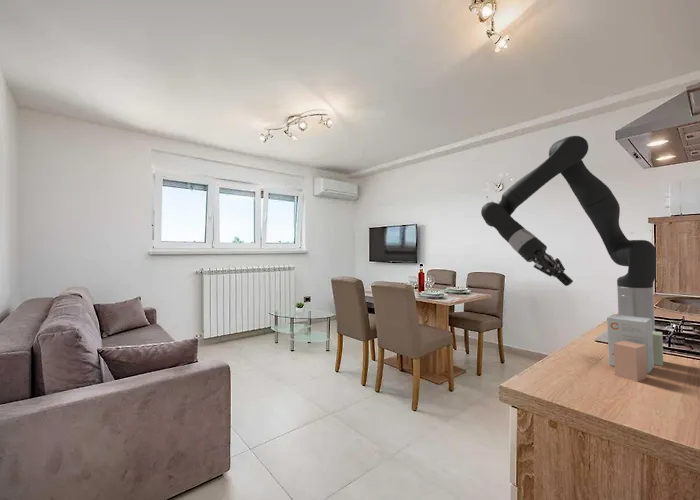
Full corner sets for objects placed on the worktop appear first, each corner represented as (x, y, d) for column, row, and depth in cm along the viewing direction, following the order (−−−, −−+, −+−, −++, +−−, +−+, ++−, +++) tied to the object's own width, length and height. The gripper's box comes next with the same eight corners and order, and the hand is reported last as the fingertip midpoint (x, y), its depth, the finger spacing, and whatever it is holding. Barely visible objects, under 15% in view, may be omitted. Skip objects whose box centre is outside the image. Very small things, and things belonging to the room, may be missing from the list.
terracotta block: (624, 371, 81) (623, 340, 81) (646, 377, 77) (645, 345, 76) (614, 375, 79) (613, 343, 79) (637, 381, 75) (635, 348, 75)
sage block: (641, 357, 89) (640, 329, 89) (663, 361, 86) (662, 332, 86) (639, 361, 86) (638, 332, 86) (662, 366, 83) (661, 335, 83)
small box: (654, 367, 82) (652, 317, 82) (649, 374, 79) (647, 322, 78) (615, 359, 89) (613, 313, 89) (608, 365, 85) (606, 317, 85)
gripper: (523, 237, 100) (569, 277, 89) (544, 236, 107) (589, 273, 97) (508, 254, 104) (550, 294, 94) (529, 252, 111) (570, 289, 101)
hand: (569, 283), depth 95 cm, fingers closed
